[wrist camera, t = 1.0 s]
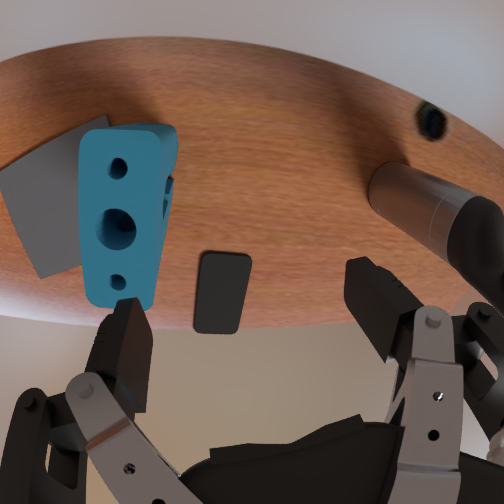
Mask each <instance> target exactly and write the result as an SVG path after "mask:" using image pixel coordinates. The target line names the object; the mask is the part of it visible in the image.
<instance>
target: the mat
mask: <svg viewBox="0 0 504 504" xmlns="http://www.w3.org/2000/svg"><path fill="white" fill-rule="evenodd" d="M106 127H110V124H109V120H108V116H107V115H103V116H101V117H99V118H97V119H94V120H92V121H90V122H88V123H85V124H83V125H81V126H79V127H77V128H75V129H73V130H71V131H69V132H67V133H65V134H63V135H61V136H59V137H57V138H55V139H53V140H51V141H49V142H48V143H46V144H44V145H42V146H40V147H39V148H37V149H35V150H34V151H32V152H30V153H28V154H27V155H25V156H24V157H22V158H20V159H19V160H17V161H16V162H14V163H12V164H11V165H9V166H8V167H6V168H5V169H3V170H2V171H0V190H1V193H2V196H3V198H4V201H5V204H6V206H7V209H8V211H9V214H10V217H11V219H12V221H13V224H14V226H15V228H16V231H17V233H18V235H19V238H20V240H21V242H22V244H23V246H24V248H25V250H26V252H27V254H28V256H29V258H30V260H31V262H32V264H33V266H34V268H35V270H36V272H37V274H38V276H39V277H40V279H43V278H45V277H48V276H51V275H54V274H57V273H60V272H62V271H65V270H68V269H71V268H74V267H77V266H80V265H82V260H81V249H80V236H79V217H78V163H79V146H80V141H81V139H82V137H83V136H84V135H85V134H86V133H87V132H88V131H90V130H94V129H100V128H106Z"/></svg>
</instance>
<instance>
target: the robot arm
mask: <svg viewBox="0 0 504 504" xmlns="http://www.w3.org/2000/svg"><path fill="white" fill-rule="evenodd" d="M368 196H369V202H370V205H371V207H372V209H373V210H374V211H375V212H376V213H377V214H378V215H380V216H381V217H383V218H384V219H386V220H387V221H389V222H390V223H392V224H393V225H395V226H396V227H398V228H399V229H401V230H402V231H404V232H405V233H407V234H408V235H409V236H411V237H412V238H414V239H415V240H417V241H418V242H419V243H421V244H422V245H424V246H425V247H426V248H428V249H429V250H431V251H432V252H433V253H435V254H436V255H437V256H439V257H440V258H441V259H443V260H444V261H445V262H447V263H448V264H449V265H451V266H452V267H453V268H455V269H456V270H457V271H458V272H459V273H460V275H461V276H462V277H463V278H464V279H465V280H466V281H467V282H468V283H469V284H470V285H471V286H473V287H474V288H475V289H476V290H477V291H478V292H479V293H480V294H481V295H482V296H483V297H485V299H487V300H488V302H489V303H490V304H491V305H493V307H494V308H493V307H492V306H491V305H489V304H487V303H484V302H474V303H472V304H471V305H470V306H469V308H468V311H467V314H466V315H460V316H450V315H449V314H448V313H447V312H446V311H445V310H443V309H441V308H439V307H436V306H424V305H423V304H422V303H421V302H420V301H419V300H418V299H417V298H416V297H415V296H414V295H413V294H412V292H411V291H410V290H409V289H408V288H407V287H406V286H404V284H403V283H402V282H401V281H400V280H398V279H397V278H396V277H395V276H394V275H393V274H392V273H391V272H390V271H388V270H386V269H384V268H382V267H380V266H376V265H375V264H374V263H373V262H372V261H371V260H370V259H369V258H368V257H366V256H364V257H360V258H355V259H350V260H348V261H347V263H346V271H345V284H344V300H345V303H346V306H347V308H348V309H349V311H350V312H351V314H352V315H353V316H354V318H355V319H356V321H357V322H358V324H359V325H360V327H361V328H362V330H363V331H364V333H365V334H366V336H367V337H368V338H369V340H370V342H371V343H372V345H373V346H374V348H375V349H376V351H377V352H378V354H379V355H380V357H381V358H382V360H383V361H384V363H385V364H387V363H390V362H392V361H395V360H396V361H397V362H398V367H397V370H396V375H395V381H394V386H393V391H392V396H391V401H390V405H389V409H388V412H387V415H386V418H385V420H384V423H382V422H363V420H362V418H361V416H360V414H358V415H355V416H352V417H350V418H346V419H343V420H341V421H337V422H334V423H331V424H328V425H325V426H323V427H321V428H320V429H318V430H316V431H314V432H312V433H310V434H308V435H306V436H304V437H303V438H301V439H299V440H297V441H295V442H292V443H289V444H251V443H247V444H240V445H234V446H227V447H219V448H211V449H210V458H208V459H205V460H203V461H201V462H199V463H197V464H195V465H193V466H192V467H190V468H189V469H187V470H186V471H185V472H183V474H180V473H179V472H178V471H177V470H175V468H174V467H173V466H172V465H171V464H170V463H169V462H168V461H167V460H166V459H165V458H164V457H163V456H162V455H161V453H160V452H159V451H158V450H157V449H156V448H155V446H154V445H153V444H152V443H151V442H150V441H149V439H148V438H147V437H146V436H145V434H144V433H143V432H142V431H141V430H140V428H139V427H138V426H137V424H136V423H135V422H134V418H135V413H145V412H146V403H147V391H148V381H149V372H150V363H151V354H152V347H153V336H152V331H151V328H150V325H149V323H148V320H147V318H146V316H145V313H144V311H143V308H142V305H141V303H140V301H139V299H138V298H137V297H134V298H127V299H120V300H118V301H117V303H116V306H115V309H114V312H113V314H108V315H107V316H106V318H105V319H104V320H103V321H102V322H101V324H100V326H99V329H98V332H97V336H96V337H95V340H94V344H93V346H92V349H91V352H90V355H89V358H88V362H87V365H86V368H85V371H84V373H81V374H79V375H77V376H75V377H74V378H73V379H72V380H71V381H70V382H69V384H68V385H67V388H66V391H65V392H63V393H60V394H57V395H53V396H50V397H47V396H46V395H45V393H44V392H43V391H42V390H41V389H39V388H30V389H28V390H26V391H24V392H23V393H22V394H21V395H20V397H19V398H18V400H17V402H16V405H15V409H14V412H13V415H12V419H11V422H10V426H9V430H8V434H7V438H6V442H5V447H4V451H3V456H2V461H1V466H0V504H86V472H87V458H88V456H89V457H90V459H91V461H92V463H93V464H94V466H95V468H96V469H97V471H98V473H99V474H100V476H101V477H102V479H103V480H104V482H105V484H106V485H107V486H108V488H109V490H110V491H111V492H112V494H113V495H114V497H115V498H116V499H117V501H118V502H119V504H504V318H503V317H504V215H503V212H502V210H501V209H500V207H499V206H498V205H497V204H496V203H494V202H493V201H491V200H489V199H487V198H485V197H483V196H480V195H478V194H476V193H474V192H472V191H470V190H467V189H465V188H463V187H460V186H458V185H456V184H453V183H451V182H449V181H446V180H444V179H441V178H439V177H436V176H434V175H431V174H429V173H426V172H424V171H421V170H418V169H416V168H413V167H410V166H407V165H405V164H402V163H399V162H388V163H386V164H383V165H382V166H381V167H379V168H378V170H377V171H376V172H375V173H374V175H373V177H372V179H371V181H370V185H369V192H368ZM498 312H499V313H500V314H501V315H502V316H503V317H502V316H501V315H500V314H499V313H498ZM484 351H485V353H486V354H487V355H488V357H489V358H490V359H491V360H492V362H493V363H494V364H495V365H496V367H497V369H498V378H497V380H496V381H495V379H494V378H493V376H492V375H491V374H490V372H489V371H488V370H487V368H486V367H485V366H484V364H483V363H482V361H481V360H480V358H481V356H482V354H483V353H484ZM463 397H464V399H465V401H466V402H467V404H468V405H469V407H470V409H471V410H472V412H473V414H474V415H475V417H476V419H477V420H478V422H479V424H480V426H481V427H482V429H483V431H484V432H485V434H486V436H487V438H488V440H489V442H490V445H489V450H490V451H489V452H488V453H487V456H486V458H487V460H484V459H481V458H478V457H475V456H472V455H469V454H466V453H463V452H461V451H460V443H461V433H462V419H463ZM48 444H49V445H51V452H50V459H49V466H48V473H47V471H46V467H45V460H46V454H47V447H48Z"/></svg>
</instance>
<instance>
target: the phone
mask: <svg viewBox="0 0 504 504" xmlns="http://www.w3.org/2000/svg"><path fill="white" fill-rule="evenodd" d="M251 267H252V260H251V257H250V256H248V255H245V254H234V253H222V252H206V253H204V254H203V256H202V258H201V266H200V273H199V281H198V292H197V302H196V311H195V322H194V329H195V331H196V332H197V333H202V334H234V333H236V332H237V330H238V327H239V322H240V318H241V313H242V309H243V304H244V299H245V295H246V290H247V286H248V281H249V276H250V272H251Z"/></svg>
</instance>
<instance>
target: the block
mask: <svg viewBox="0 0 504 504" xmlns="http://www.w3.org/2000/svg"><path fill="white" fill-rule="evenodd" d="M177 150H178V140H177V132H176V129H175V128H174V127H173V126H171V125H165V124H150V123H134V124H126V125H119V126H112V127H106V128H100V129H94V130H90V131H88V132H87V133H86V134H85V135H84V136H83V137H82V139H81V141H80V146H79V163H78V217H79V236H80V249H81V260H82V269H83V277H84V285H85V292H86V296H87V299H88V300H89V301H90V303H92V304H93V305H95V306H97V307H102V308H112V309H115V306H116V303H117V301H118V300H120V299H127V298H134V297H137V298H138V299H139V301H140V303H141V305H142V308H143V311H146V310H148V309H150V308H151V307H152V305H153V300H154V294H155V288H156V282H157V276H158V270H159V265H160V259H161V254H162V249H163V244H164V239H165V234H166V229H167V223H168V217H169V211H170V205H171V200H172V193H173V183H174V179H167V178H168V176H169V175H171V174H172V172H173V169H174V167H175V164H176V158H177Z"/></svg>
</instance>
